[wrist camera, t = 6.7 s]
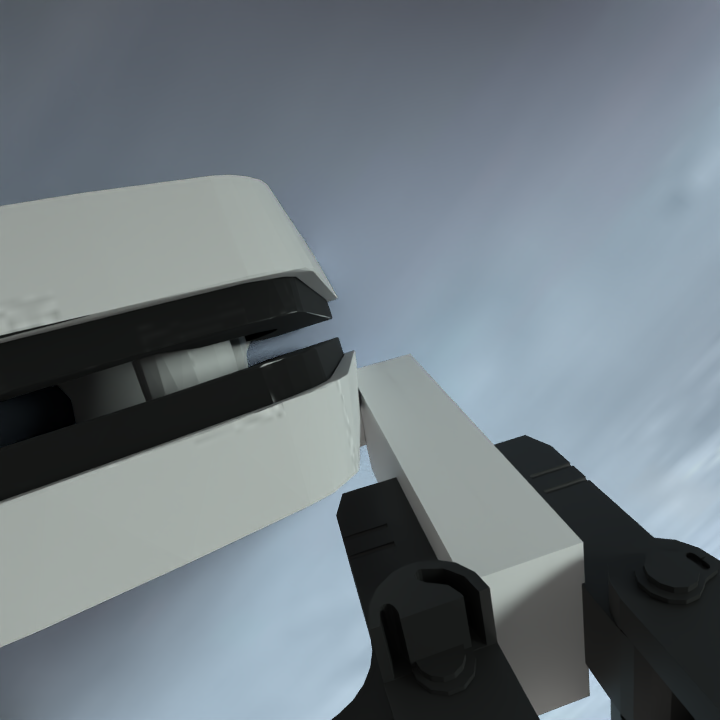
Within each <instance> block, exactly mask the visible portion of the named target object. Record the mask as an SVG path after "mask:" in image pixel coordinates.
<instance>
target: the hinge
mask: <svg viewBox="0 0 720 720" xmlns="http://www.w3.org/2000/svg"><path fill="white" fill-rule="evenodd" d="M336 299H338V297H337V296H336V294H335V292H334V290H333V288H332V287H331V285H330V283H329V281H328V280H327V278H326V276H325V274H324V272H323V271H322V269H321V267H320V265H319V264H318V262H317V260H316V258H315V256H314V255H313V253H312V252H311V250H310V249H309V247H308V246H307V244H306V243H305V241H304V240H303V238H302V237H301V235H300V233H299V232H298V230H297V229H296V227H295V226H294V224H293V223H292V221H291V220H290V218H289V217H288V215H287V214H286V212H285V211H284V209H283V208H282V206H281V205H280V203H279V202H278V200H277V199H276V197H275V196H274V194H273V193H272V191H271V190H270V188H269V187H268V185H267V184H266V183H264V182H263V181H261V180H259V179H255V178H251V177H247V176H238V175H216V176H205V177H197V178H190V179H182V180H175V181H167V182H160V183H152V184H145V185H137V186H130V187H123V188H115V189H108V190H100V191H93V192H85V193H78V194H72V195H66V196H59V197H53V198H47V199H41V200H35V201H28V202H22V203H16V204H10V205H3V206H0V402H1V401H4V400H7V399H11V398H14V397H17V396H20V395H24V394H27V393H30V392H33V391H37V390H40V389H43V388H46V387H50V386H53V385H55V386H58V387H60V388H61V389H62V390H63V391H64V393H65V394H66V395H67V396H68V397H69V398H70V399H71V401H72V406H73V411H74V415H75V420H76V424H74V425H71V426H68V427H64V428H61V429H58V430H55V431H52V432H49V433H46V434H42V435H39V436H36V437H33V438H30V439H27V440H23V441H20V442H17V443H14V444H11V445H8V446H5V447H1V448H0V647H3V646H5V645H8V644H10V643H12V642H15V641H17V640H19V639H22V638H24V637H27V636H29V635H31V634H34V633H36V632H38V631H41V630H43V629H45V628H47V627H49V626H52V625H54V624H56V623H58V622H60V621H63V620H65V619H67V618H69V617H71V616H74V615H76V614H78V613H80V612H82V611H85V610H87V609H89V608H91V607H93V606H96V605H98V604H100V603H102V602H104V601H107V600H109V599H111V598H113V597H115V596H118V595H120V594H122V593H124V592H126V591H129V590H131V589H133V588H135V587H137V586H140V585H142V584H144V583H146V582H148V581H150V580H153V579H155V578H157V577H159V576H161V575H164V574H166V573H168V572H170V571H172V570H175V569H177V568H179V567H181V566H183V565H186V564H188V563H190V562H192V561H194V560H196V559H199V558H201V557H203V556H205V555H207V554H209V553H211V552H213V551H215V550H218V549H220V548H222V547H224V546H226V545H228V544H230V543H232V542H234V541H237V540H239V539H241V538H243V537H245V536H247V535H249V534H251V533H254V532H256V531H258V530H260V529H262V528H264V527H266V526H268V525H270V524H273V523H275V522H277V521H279V520H281V519H283V518H285V517H287V516H289V515H292V514H294V513H296V512H298V511H300V510H302V509H304V508H306V507H308V506H311V505H312V504H314V503H316V502H318V501H320V500H322V499H324V498H325V497H327V496H329V495H331V494H333V493H335V492H336V491H337V490H338V489H339V488H340V487H342V486H343V485H344V484H345V483H346V482H347V481H348V480H350V479H351V478H352V477H353V476H354V475H355V474H357V472H358V470H359V463H360V447H361V446H364V445H366V439H365V432H364V425H363V419H362V412H361V406H360V399H359V392H358V383H357V363H356V355H355V351H351V352H348V353H345V354H343V351H342V347H341V344H340V341H339V338H338V337H337V338H334V339H330V340H327V341H324V342H321V343H318V344H315V345H312V346H309V347H306V348H303V349H299V350H296V351H293V352H290V353H287V354H284V355H281V356H278V357H275V358H272V359H269V360H266V361H263V362H261V363H258V364H255V365H254V366H251V367H248V362H247V356H246V355H247V350H248V347H249V345H250V342H251V341H256V340H264V339H268V338H271V337H274V336H278V335H281V334H284V333H287V332H291V331H294V330H297V329H300V328H304V327H307V326H310V325H313V324H317V323H320V322H323V321H326V320H329V319H332V315H331V312H330V309H329V306H328V303H327V302H329V301H333V300H336Z"/></svg>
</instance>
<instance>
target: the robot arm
mask: <svg viewBox="0 0 720 720" xmlns="http://www.w3.org/2000/svg"><path fill="white" fill-rule="evenodd" d="M357 383H358V392H359V399H360V406H361V412H362V419H363V425H364V432H365V439H366V445H367V450H368V454H369V458H370V463H371V467H372V470H373V472H374V475H375V477H376V479H377V481H378V483H376V484H372V485H369V486H366V487H363V488H360V489H356V490H353V491H350V492H347V493H343V494H342V497H341V501H340V504H339V508H338V511H337V515H336V516H337V520H338V524H339V527H340V531H341V535H342V538H343V542H344V545H345V549H346V553H347V556H348V560H349V564H350V567H351V571H352V574H353V578H354V582H355V585H356V589H357V592H358V596H359V599H360V603H361V606H362V610H363V614H364V617H365V621H366V624H367V628H368V631H369V635H370V639H371V645H372V658H371V666H370V669H369V672H368V675H367V677H366V680H365V682H364V685H363V686H362V688H361V689H360V691H359V692H358V694H357V695H356V697H355V698H354V700H353V701H352V702H351V703H350V704H349V705H347V706H346V707H345V708H344V709H343V710H342V711H341V712H340V713H339V714H338V715H337V716H335V717H334V718H333V719H332V720H540V719H539V717H538V716H539V715H541V714H544V713H546V712H549V711H551V710H554V709H557V708H559V707H562V706H564V705H567V704H569V703H572V702H575V701H577V700H580V699H582V698H585V697H588V696H590V690H589V669H590V671H591V672H592V673H593V675H594V676H595V678H596V679H597V681H598V682H599V683H600V685H601V686H602V688H603V689H604V691H605V692H606V693H607V695H608V696H609V698H610V699H611V720H720V561H719V560H718V559H716V558H714V557H713V556H711V555H710V554H708V553H706V552H705V551H703V550H702V549H700V548H698V547H695V546H692V545H689V544H686V543H683V542H680V541H677V540H672V539H661V538H654V537H653V536H651V535H650V534H649V533H648V532H647V531H646V530H645V529H644V528H642V527H641V526H640V525H639V524H638V523H637V522H636V521H635V520H634V519H632V518H631V517H630V516H629V515H628V514H627V513H626V512H625V511H623V510H622V509H621V508H620V507H619V506H618V505H617V504H616V503H614V502H613V501H612V500H611V499H610V498H609V497H608V496H607V495H606V494H604V493H603V492H602V491H601V490H600V489H599V488H598V487H597V486H595V485H594V484H593V483H592V482H591V481H590V480H588V481H587V480H586V478H585V476H584V475H583V474H582V473H581V472H580V471H579V470H578V469H576V468H575V467H574V466H571V465H570V462H569V461H567V460H566V459H565V458H564V457H563V456H562V455H561V454H560V453H558V452H557V451H556V450H555V449H554V448H553V447H552V446H550V445H548V444H545V443H543V442H540V441H538V440H536V439H533V438H531V437H528V436H526V435H524V436H521V437H517V438H514V439H511V440H508V441H505V442H501V443H498V444H495V445H493V444H492V442H491V441H490V440H489V439H488V438H487V437H486V436H485V435H484V434H483V433H482V432H481V430H480V429H479V428H478V427H477V426H476V425H475V424H474V423H473V422H472V421H471V420H470V418H469V417H468V416H467V415H466V414H465V413H464V412H463V411H462V410H461V409H460V408H459V406H458V405H457V404H456V403H455V402H454V401H453V400H452V399H451V398H450V397H449V396H448V395H447V393H446V392H445V391H444V390H443V389H442V388H441V387H440V386H439V385H438V384H437V383H436V381H435V380H434V379H433V378H432V377H431V376H430V375H429V374H428V373H427V372H426V371H425V369H424V368H423V367H422V366H421V365H420V364H419V363H418V362H417V361H416V360H415V359H414V358H413V356H412V355H411V354H408V355H404V356H400V357H397V358H393V359H390V360H386V361H383V362H379V363H375V364H372V365H368V366H365V367H361V368H358V369H357Z"/></svg>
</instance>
